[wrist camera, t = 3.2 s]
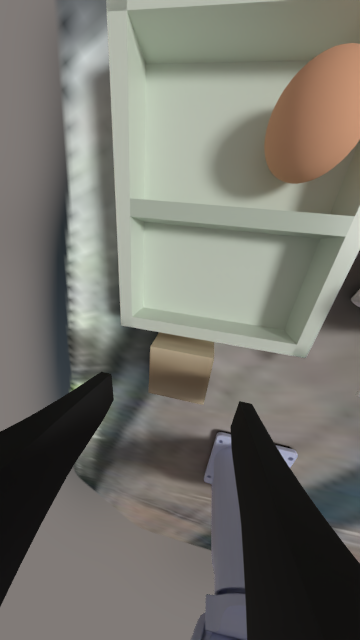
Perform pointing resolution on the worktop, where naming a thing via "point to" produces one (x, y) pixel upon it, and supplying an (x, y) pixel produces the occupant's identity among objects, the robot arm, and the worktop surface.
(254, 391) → the worktop surface
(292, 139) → the terracotta ball
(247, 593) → the robot arm
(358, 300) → the smoothie
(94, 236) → the worktop surface
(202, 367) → the maple block
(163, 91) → the tray
